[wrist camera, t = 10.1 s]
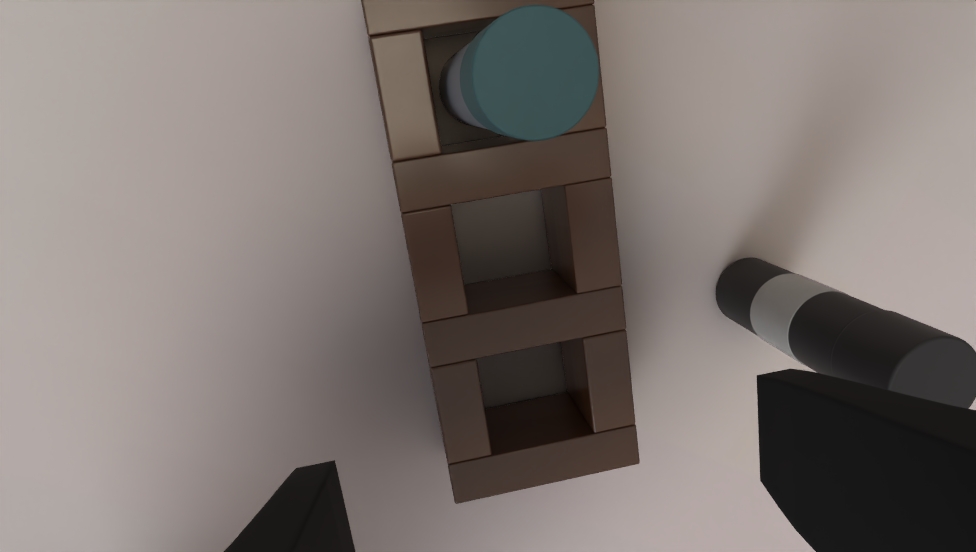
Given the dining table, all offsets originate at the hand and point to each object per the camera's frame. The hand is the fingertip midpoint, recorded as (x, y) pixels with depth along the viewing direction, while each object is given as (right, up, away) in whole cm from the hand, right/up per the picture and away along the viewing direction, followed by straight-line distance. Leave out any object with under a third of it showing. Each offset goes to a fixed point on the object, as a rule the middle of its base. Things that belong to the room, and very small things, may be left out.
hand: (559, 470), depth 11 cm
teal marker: (-2, +9, +8) cm, 12 cm away
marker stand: (-1, +5, +9) cm, 11 cm away
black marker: (+7, +3, +11) cm, 14 cm away
